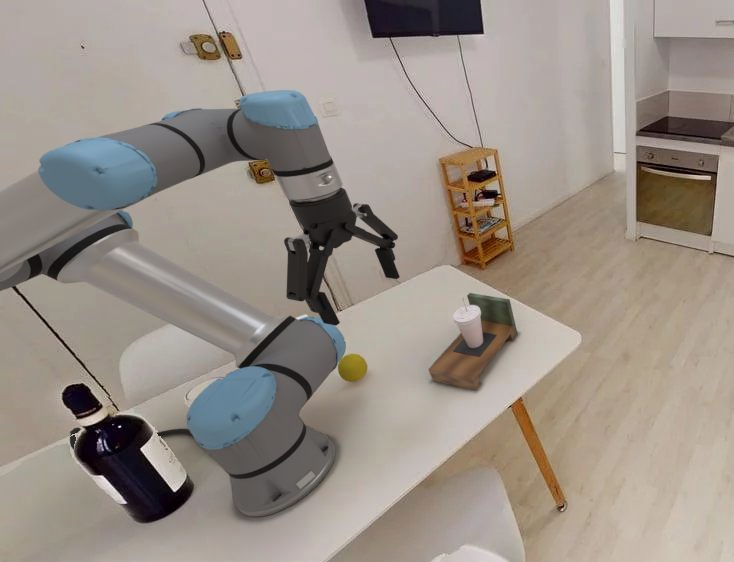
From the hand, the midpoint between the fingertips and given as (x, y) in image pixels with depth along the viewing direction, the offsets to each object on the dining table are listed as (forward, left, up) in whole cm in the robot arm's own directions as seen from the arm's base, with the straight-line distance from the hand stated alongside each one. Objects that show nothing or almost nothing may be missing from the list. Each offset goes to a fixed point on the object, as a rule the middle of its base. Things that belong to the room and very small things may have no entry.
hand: (364, 298), depth 75 cm
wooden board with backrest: (+4, +17, -32) cm, 36 cm away
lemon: (-20, +4, -32) cm, 38 cm away
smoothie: (+4, +18, -28) cm, 33 cm away
